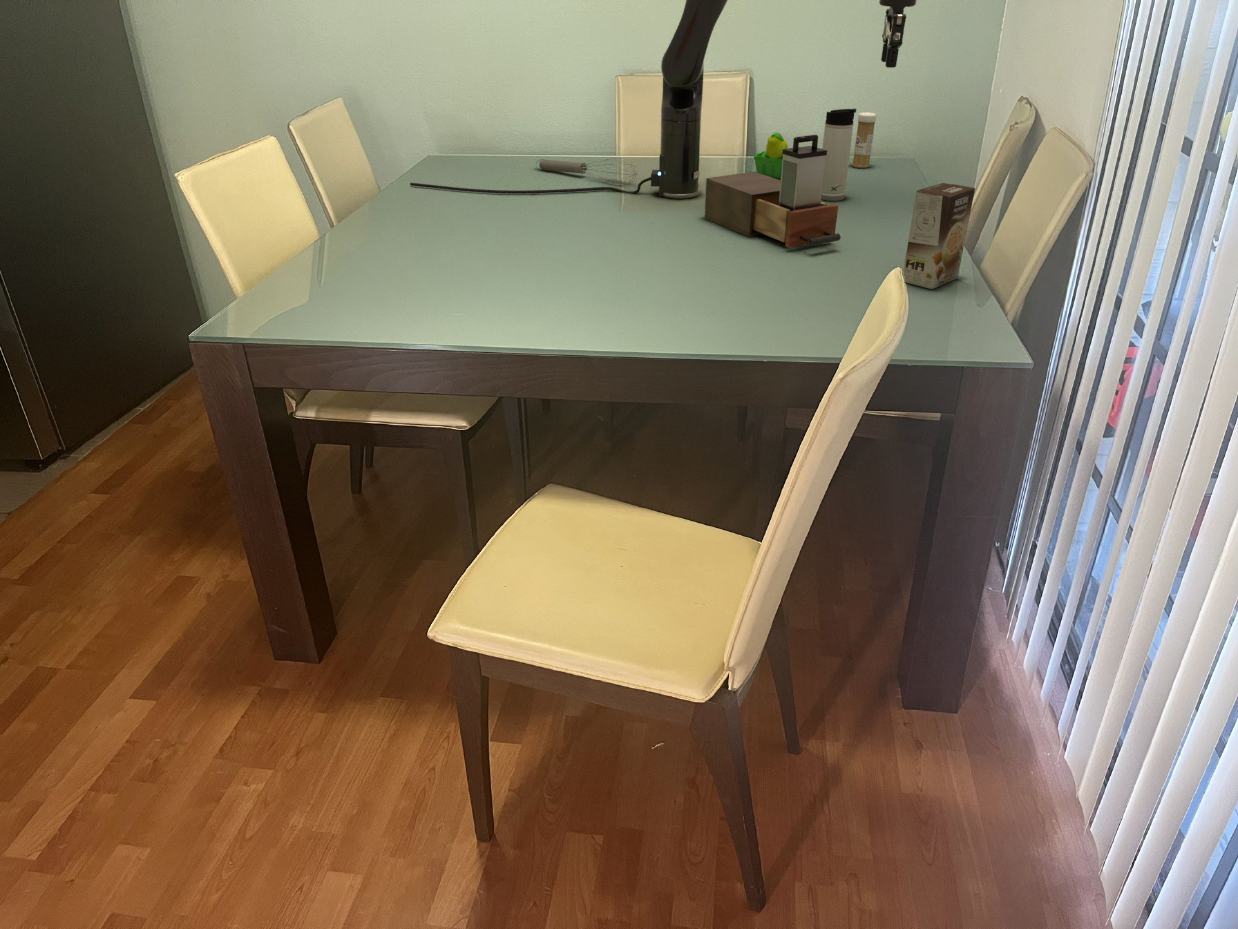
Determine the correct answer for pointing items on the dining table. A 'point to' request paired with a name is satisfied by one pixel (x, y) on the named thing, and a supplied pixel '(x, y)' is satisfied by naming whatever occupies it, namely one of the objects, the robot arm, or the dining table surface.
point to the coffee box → (937, 234)
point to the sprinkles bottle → (864, 140)
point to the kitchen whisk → (578, 167)
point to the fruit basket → (771, 157)
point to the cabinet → (737, 199)
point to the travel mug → (837, 153)
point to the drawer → (795, 222)
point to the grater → (802, 175)
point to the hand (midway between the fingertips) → (888, 64)
